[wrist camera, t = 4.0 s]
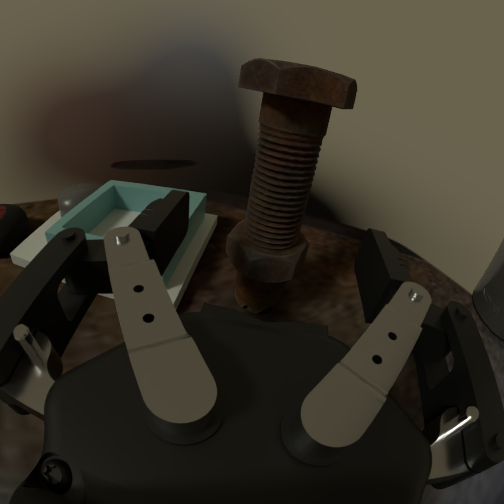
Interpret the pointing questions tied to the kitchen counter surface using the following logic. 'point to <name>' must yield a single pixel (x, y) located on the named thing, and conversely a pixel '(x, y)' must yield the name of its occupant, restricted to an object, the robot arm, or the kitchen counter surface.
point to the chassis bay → (123, 225)
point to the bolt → (282, 173)
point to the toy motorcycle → (12, 226)
